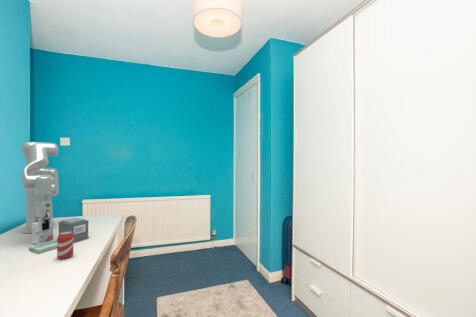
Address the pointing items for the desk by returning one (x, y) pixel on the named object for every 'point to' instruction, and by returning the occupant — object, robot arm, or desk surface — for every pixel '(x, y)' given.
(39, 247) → the tray
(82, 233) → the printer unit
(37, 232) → the ink cartridge box
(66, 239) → the beverage can
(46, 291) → the desk surface
